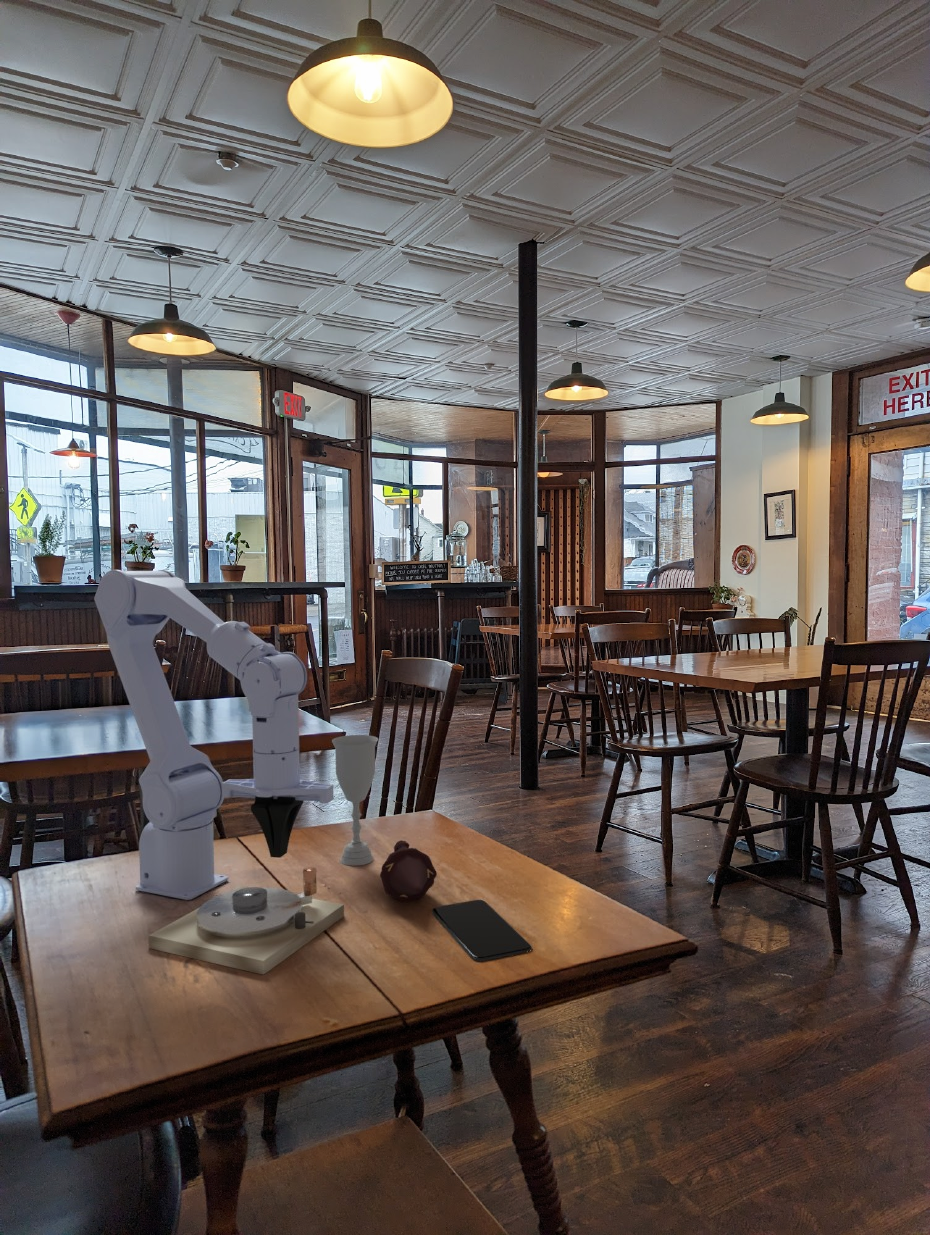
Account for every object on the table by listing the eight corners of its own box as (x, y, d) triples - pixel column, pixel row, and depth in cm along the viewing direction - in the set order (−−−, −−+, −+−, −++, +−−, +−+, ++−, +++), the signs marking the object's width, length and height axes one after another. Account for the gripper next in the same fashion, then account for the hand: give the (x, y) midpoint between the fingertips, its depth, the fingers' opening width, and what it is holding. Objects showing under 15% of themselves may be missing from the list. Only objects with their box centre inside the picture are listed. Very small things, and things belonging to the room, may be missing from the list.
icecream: (454, 866, 100) (428, 839, 115) (396, 857, 98) (377, 830, 113) (441, 923, 100) (417, 888, 114) (383, 914, 98) (365, 880, 112)
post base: (148, 948, 93) (148, 922, 93) (240, 896, 107) (239, 874, 107) (263, 974, 86) (263, 947, 86) (344, 916, 101) (343, 892, 101)
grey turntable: (212, 946, 88) (211, 911, 88) (186, 908, 99) (185, 876, 98) (334, 917, 96) (334, 883, 96) (299, 884, 106) (298, 854, 106)
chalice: (376, 868, 117) (374, 744, 116) (329, 868, 117) (327, 745, 116) (382, 851, 125) (380, 734, 124) (338, 851, 125) (336, 735, 124)
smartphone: (535, 955, 91) (483, 904, 105) (535, 947, 91) (483, 897, 105) (475, 967, 89) (429, 913, 103) (475, 959, 89) (429, 906, 102)
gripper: (207, 753, 101) (210, 861, 102) (316, 758, 97) (318, 870, 98) (236, 742, 108) (239, 843, 108) (339, 746, 104) (341, 850, 105)
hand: (278, 854), depth 104 cm, fingers closed
